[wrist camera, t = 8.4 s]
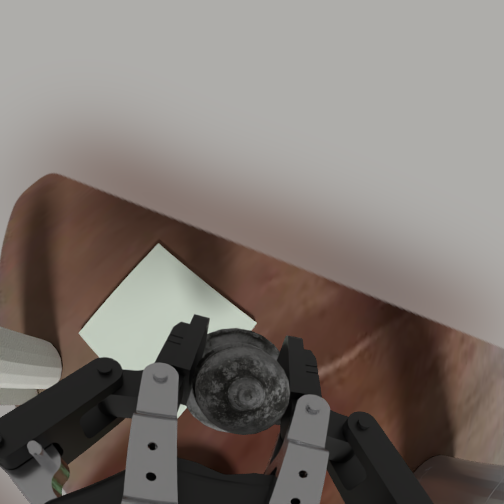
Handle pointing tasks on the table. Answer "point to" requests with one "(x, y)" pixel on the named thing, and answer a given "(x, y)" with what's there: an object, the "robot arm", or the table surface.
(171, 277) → the sage tile
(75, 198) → the table surface
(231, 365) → the salt shaker
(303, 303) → the table surface
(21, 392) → the paper towel roll
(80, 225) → the table surface
